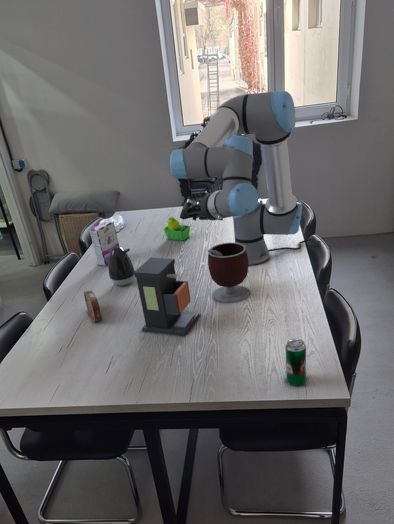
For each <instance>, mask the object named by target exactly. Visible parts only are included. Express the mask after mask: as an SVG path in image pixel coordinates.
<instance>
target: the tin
mask: <svg viewBox="0 0 394 524" xmlns="http://www.w3.org/2000/svg"><path fill="white" fill-rule="evenodd" d="M83 297H84V301H85V304H86V309H87V311H88V314H89V315H90V317H91V319H92V322H93V323H96V322H99V321H102V314H101V307H100V303H99V300H98V297H96V295H95V293H94V292H93V291H92V290H85V291H84V292H83Z"/></svg>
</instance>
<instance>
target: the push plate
mask: <svg viewBox="0 0 394 524" xmlns="http://www.w3.org/2000/svg"><path fill="white" fill-rule="evenodd" d="M188 286H189V283H188V284H187V283H183V284H182V285H181V286H180V287H179V288H178V290H177V291H176V292H175V293H174V295H176V300H177V307H178V313H179V314H180V313H181V312H182V311H185V309H186V308H187V306H188V305H189V304H190V303H191V301H190V300H191V297H190V298H189V293H190V290H189V291H188Z"/></svg>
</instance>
